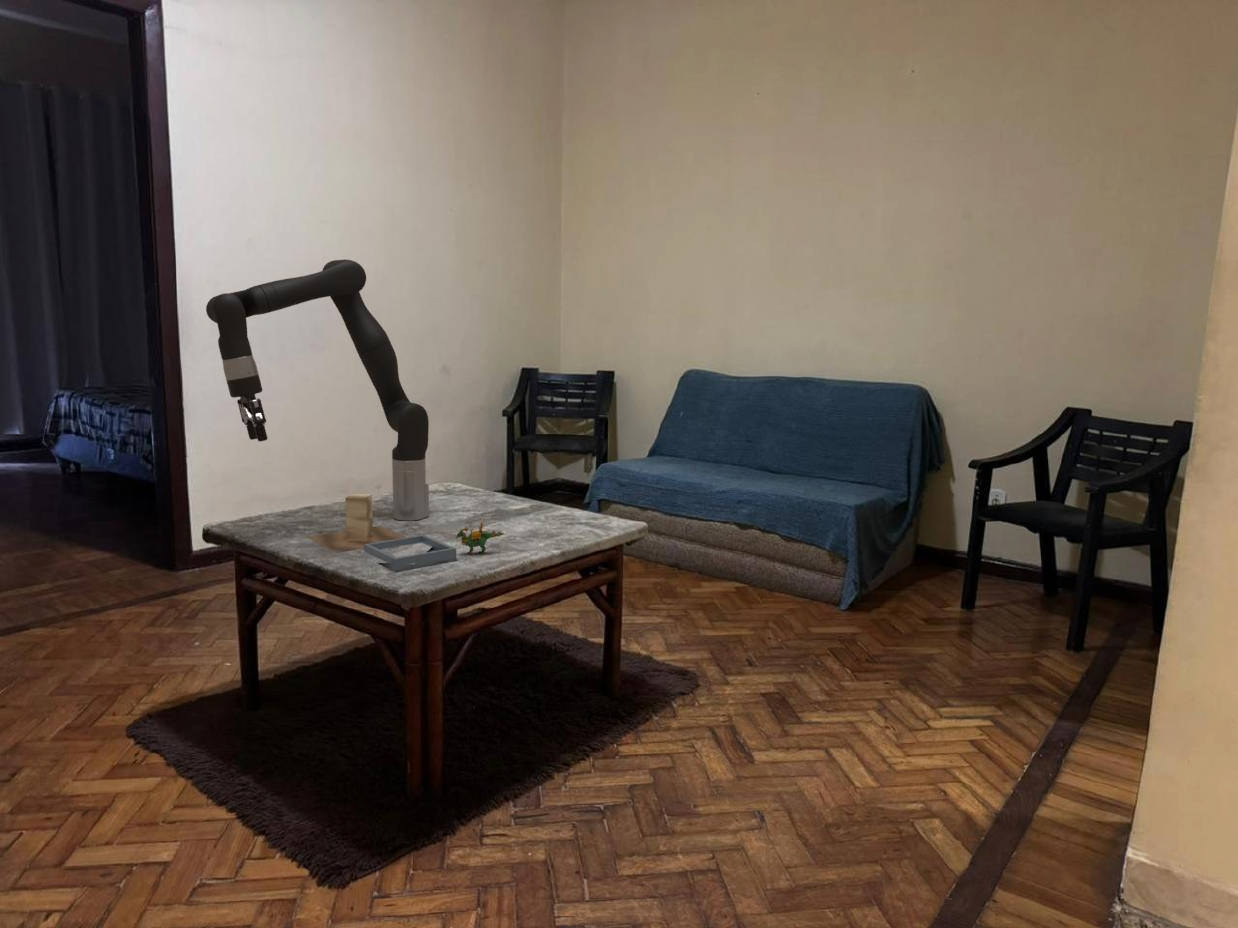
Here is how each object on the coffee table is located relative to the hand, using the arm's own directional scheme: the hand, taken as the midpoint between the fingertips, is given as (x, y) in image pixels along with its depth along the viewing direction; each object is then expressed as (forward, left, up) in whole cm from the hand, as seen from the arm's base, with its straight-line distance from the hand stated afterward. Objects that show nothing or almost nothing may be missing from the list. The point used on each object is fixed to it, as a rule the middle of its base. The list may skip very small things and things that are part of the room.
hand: (258, 439), depth 218 cm
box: (-22, +36, -26) cm, 50 cm away
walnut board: (-18, +17, -26) cm, 36 cm away
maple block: (-18, +17, -25) cm, 35 cm away
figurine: (-38, +42, -26) cm, 62 cm away
